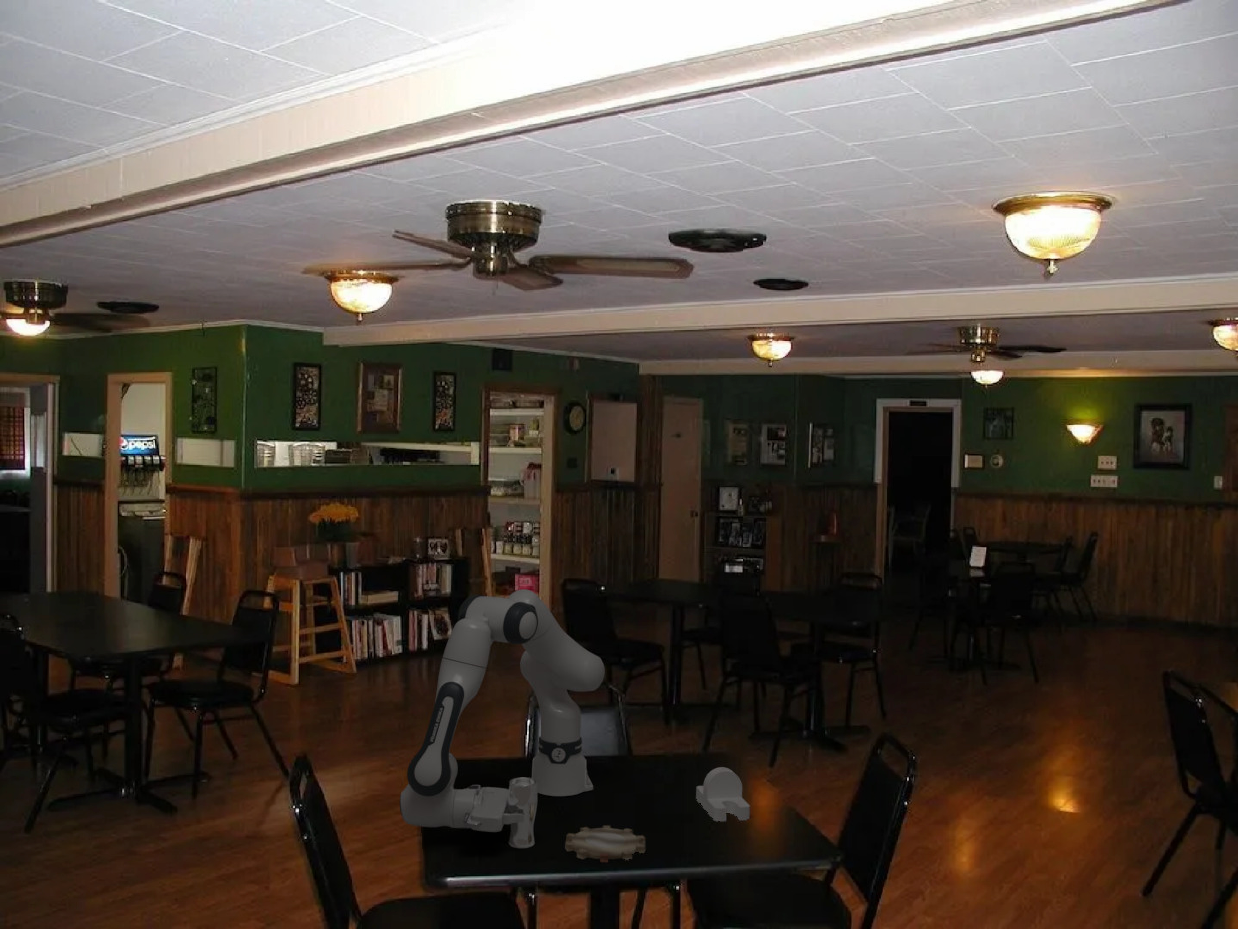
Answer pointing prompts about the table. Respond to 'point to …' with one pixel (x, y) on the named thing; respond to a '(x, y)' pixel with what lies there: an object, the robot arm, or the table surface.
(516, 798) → the beer glass
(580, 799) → the table surface
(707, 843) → the table surface
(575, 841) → the sprocket plate
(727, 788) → the tape dispenser
